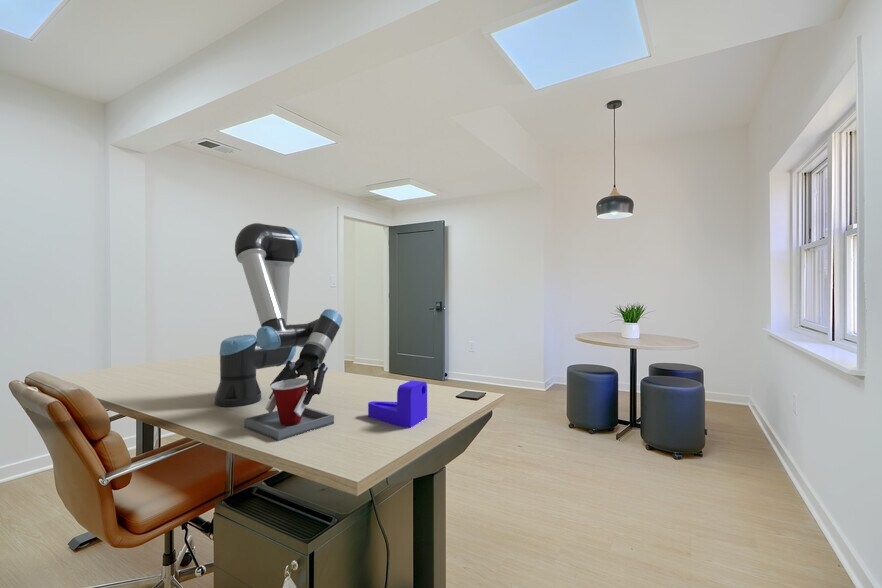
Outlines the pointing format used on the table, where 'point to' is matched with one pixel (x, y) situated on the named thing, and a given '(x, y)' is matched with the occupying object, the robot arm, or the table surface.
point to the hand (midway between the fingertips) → (282, 412)
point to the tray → (274, 429)
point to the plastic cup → (288, 399)
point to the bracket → (403, 406)
